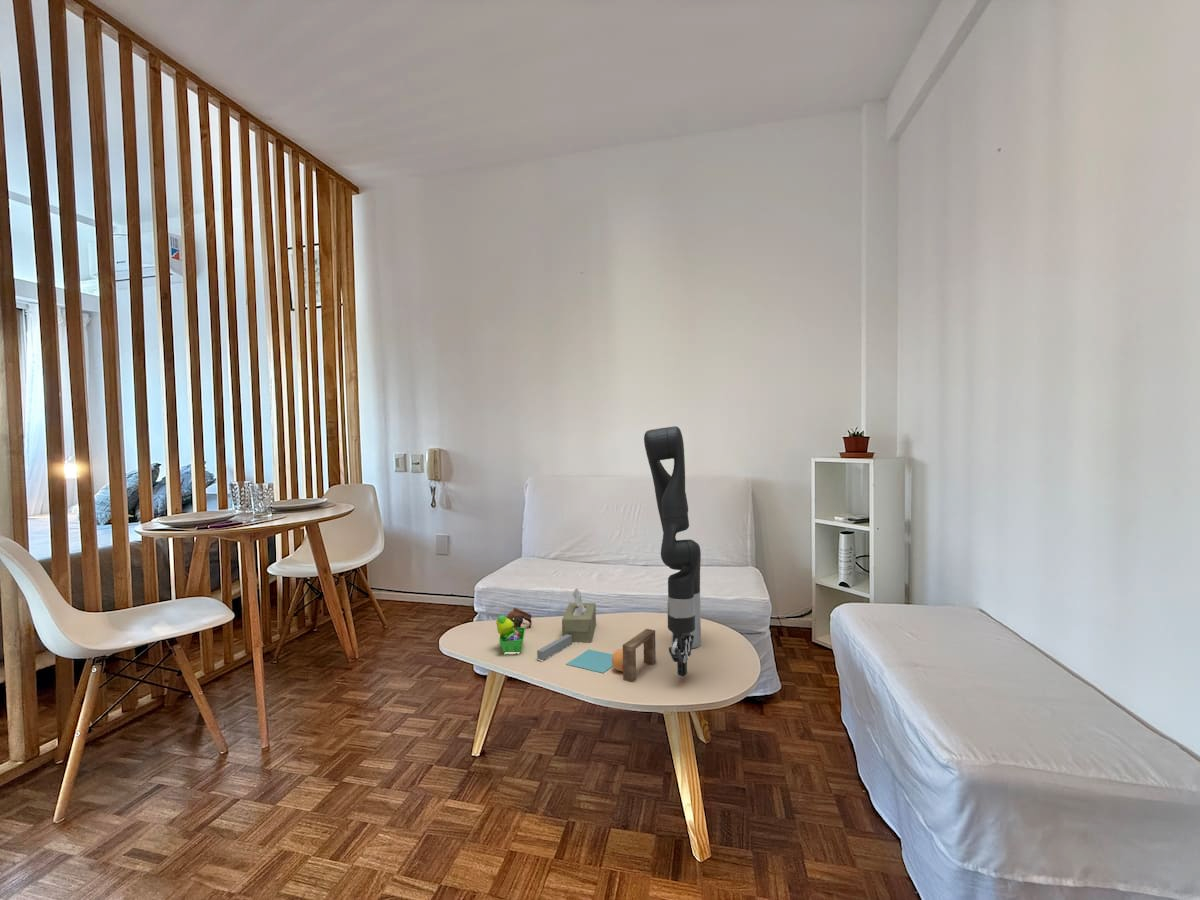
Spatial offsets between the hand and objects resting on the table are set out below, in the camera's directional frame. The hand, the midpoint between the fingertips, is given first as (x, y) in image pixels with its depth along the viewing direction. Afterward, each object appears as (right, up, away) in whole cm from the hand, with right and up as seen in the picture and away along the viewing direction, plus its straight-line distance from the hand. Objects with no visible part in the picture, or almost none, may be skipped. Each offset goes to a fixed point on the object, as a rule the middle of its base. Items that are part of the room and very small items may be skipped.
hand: (682, 674), depth 148 cm
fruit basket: (-52, -3, +25) cm, 57 cm away
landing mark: (-24, -2, +14) cm, 28 cm away
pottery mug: (-52, -2, +44) cm, 68 cm away
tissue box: (-30, -2, +39) cm, 49 cm away
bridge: (-11, -2, +7) cm, 13 cm away
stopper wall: (-37, -2, +22) cm, 43 cm away
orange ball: (-16, +1, +7) cm, 18 cm away
